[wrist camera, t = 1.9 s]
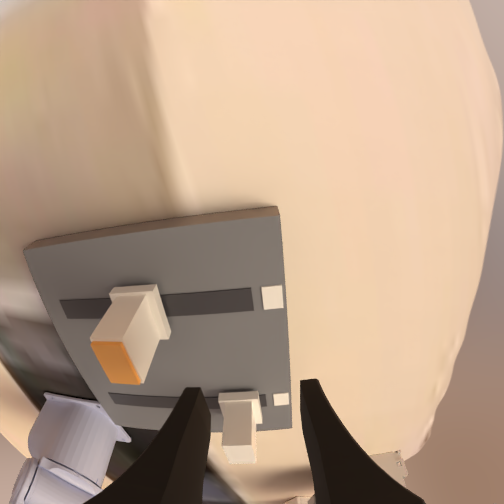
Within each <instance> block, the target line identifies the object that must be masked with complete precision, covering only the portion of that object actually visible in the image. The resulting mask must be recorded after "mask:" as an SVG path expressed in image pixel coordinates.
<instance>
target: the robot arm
mask: <svg viewBox="0 0 504 504" xmlns="http://www.w3.org/2000/svg"><path fill="white" fill-rule="evenodd" d="M44 396H45V398H46V399H47V400H46V402H45V404H44V406H43V408H42V410H41V411H40V413H39V415H38V417H37V419H36V421H35V423H34V425H33V427H32V429H31V431H30V433H29V437H28V448H29V451H30V454H31V456H32V458H27V459H26V461H25V462H24V464H23V466H22V468H21V470H20V473H19V475H18V477H17V479H16V482H15V485H14V488H13V491H12V497H11V499H10V502H9V504H202V491H203V480H204V474H205V468H206V461H207V455H208V449H209V443H210V436H211V413H210V411H209V408H208V406H207V403H206V400H205V398H204V395H203V392H202V389H201V387H186V388H185V389H184V390H183V392H182V394H181V396H180V398H179V400H178V401H177V403H176V405H175V407H174V408H173V410H172V412H171V413H170V415H169V417H168V418H167V420H166V421H165V423H164V425H163V426H162V428H161V429H160V431H159V432H158V434H157V435H156V436H155V438H154V439H153V440H152V442H151V443H150V444H149V446H148V447H147V448H146V450H145V451H144V452H143V453H142V454H141V456H140V457H139V458H138V459H137V460H136V461H135V462H134V463H133V464H132V465H131V466H130V467H129V468H128V469H127V470H126V471H125V472H124V473H123V474H122V475H121V476H120V477H119V478H118V479H117V480H115V481H114V482H113V483H112V484H110V485H109V486H108V487H107V488H105V489H104V490H103V489H101V487H102V483H103V480H104V477H105V473H106V470H107V467H108V464H109V460H110V457H111V454H112V451H113V448H114V445H115V442H116V440H117V441H123V442H131V438H130V437H129V436H128V434H127V433H126V432H125V430H124V429H123V428H122V426H118V425H115V424H114V422H113V421H112V420H111V418H110V417H109V415H108V414H107V413H106V411H105V410H104V408H103V407H102V406H101V404H100V403H99V401H92V400H85V399H79V398H73V397H68V396H62V395H57V394H52V393H48V392H45V393H44ZM300 412H301V421H302V429H303V435H304V439H305V444H306V448H307V453H308V457H309V462H310V466H311V471H312V475H313V481H314V490H315V500H316V504H426V503H425V502H424V500H423V499H422V498H420V497H419V496H417V495H415V494H414V493H412V492H411V491H409V490H408V489H406V488H405V487H404V486H402V485H401V484H400V483H398V482H397V481H396V480H394V479H393V478H392V477H391V476H390V475H389V474H387V473H386V472H385V471H384V470H383V469H382V468H381V467H380V466H378V465H377V464H376V463H375V462H374V461H373V460H372V459H371V458H370V457H369V456H368V455H367V453H366V452H365V451H364V450H363V449H362V448H361V447H360V446H359V444H358V443H357V442H356V441H355V440H354V438H353V437H352V436H351V434H350V433H349V432H348V430H347V429H346V428H345V426H344V425H343V424H342V422H341V420H340V419H339V417H338V416H337V414H336V413H335V411H334V410H333V408H332V406H331V405H330V403H329V401H328V399H327V398H326V396H325V394H324V392H323V390H322V387H321V385H320V383H319V380H317V379H308V380H300Z"/></svg>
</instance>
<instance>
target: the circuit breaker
mask: <svg viewBox="0 0 504 504" xmlns="http://www.w3.org/2000/svg"><path fill="white" fill-rule="evenodd" d="M400 452H401V451H400V450H398V451H397V452H388V453H383V454H377V455H371V456H369V457H370V458H371V459H372V460H373V461H374V462H375V463H376V464H377V465H378V466H380V467H381V468H382V469H383V470H384V471H385V472H386V473H387V474H389V475H390V476H391V477H392V478H393V479H394V480H396V481H397V482H398V483H400V484H401V485H402V486H404V487H405V488H406V485H405V482H404V478H405V477H406V476H407V475H408V472H407V469H406V466H405V463H404V460H403V458H402V459H401V456H400ZM398 462H400V464H401V466H399V465H398ZM307 503H308V504H316V500H315V494H314V495H313V496H312V497H311V498H310V499H309V500H308V502H307Z"/></svg>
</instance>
